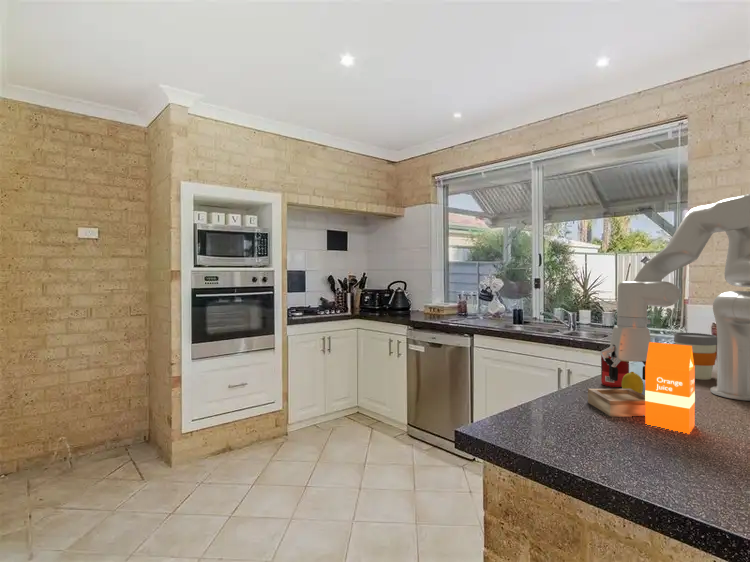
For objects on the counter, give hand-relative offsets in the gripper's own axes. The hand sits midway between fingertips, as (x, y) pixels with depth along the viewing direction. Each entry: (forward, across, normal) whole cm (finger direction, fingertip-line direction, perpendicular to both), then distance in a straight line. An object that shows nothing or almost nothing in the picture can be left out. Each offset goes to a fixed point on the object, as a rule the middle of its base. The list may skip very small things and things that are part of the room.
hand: (630, 380), depth 123 cm
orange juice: (+6, +3, +22) cm, 23 cm away
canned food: (+6, -4, -15) cm, 17 cm away
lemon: (+6, -1, 0) cm, 6 cm away
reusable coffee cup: (+4, -39, -27) cm, 48 cm away
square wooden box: (+6, +8, +10) cm, 14 cm away
